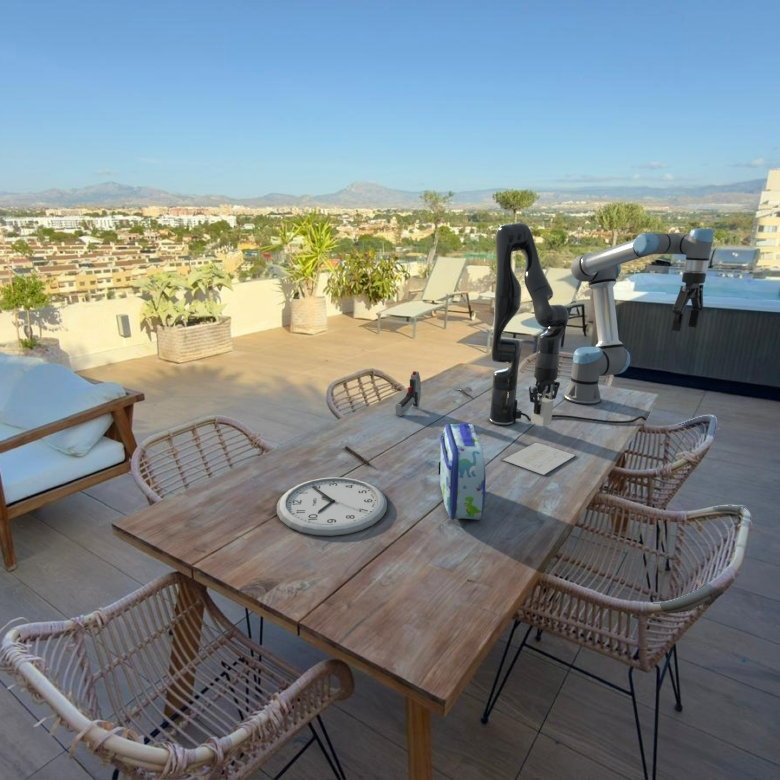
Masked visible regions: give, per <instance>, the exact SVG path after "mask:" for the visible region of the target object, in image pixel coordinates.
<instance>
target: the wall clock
mask: <svg viewBox="0 0 780 780" xmlns="http://www.w3.org/2000/svg"><path fill="white" fill-rule="evenodd" d="M387 509H388V500H387V498H386V496H385V494H384V493H383V492H382V491H381V490H380V489H379V488H377V487H376V486H374V485H372V484H371V483H369V482H365V481H362V480H359V479H355V478H349V477H338V476H337V477H335V476H333V477H332V476H331V477H322V478H317V479H312V480H307V481H305V482H302V483H299V484H297V485H295V486H293V487H292V488H290V489H288V490H287V491H286V492H285V493H284V494H283V495H281V496H280V498H279V499H278V502H277V503H276V515H277V517H278V518H279V520H280V521H281V522H282V523H283V524H285V525H286V526H287V527H288V528H290V529H293V530H295V531H297V532H299V533H303V534H308V535H312V536H327V537H328V536H329V537H331V536H332V537H333V536H342V535H350V534H352V533H356V532H361V531H363V530H366V529H368V528H369V527H372V526H373V525H375V524H376V523H378V522H379V521H380V520H381V519H382V518H383V517H384V516H385V514H386V512H387Z"/></svg>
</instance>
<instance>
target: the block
mask: <svg viewBox="0 0 780 780" xmlns="http://www.w3.org/2000/svg"><path fill="white" fill-rule="evenodd" d="M538 401H539V397H538ZM553 408H554V399H553V400H550V399H547V398H543V399H542V402H541V411H540V414H539V415H537V414H535V413H534V403H533V402H532V405H531V415H530V419H531V421H530V423H532V424H535V425H538V426H540V427H545V426H549V425H551V424H552V418H553V417H552V415H553V410H554V409H553Z"/></svg>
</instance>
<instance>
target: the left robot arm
mask: <svg viewBox="0 0 780 780" xmlns="http://www.w3.org/2000/svg"><path fill="white" fill-rule="evenodd" d="M513 252H521V253H522V256H523V257H524V260H525V269H524V278H523V279H524V280H523V281H524V285H525V287H526V290H527V292H528V294H529V296H530V298H531V300H532V306H533V307H532V308H533V312H534V318H535V320H536V322H537V324H538V325H539V326H541V327H542V328H547V329H546V331H545V332H543V333H541V334H540V335H539V337H538V343H537V352H536V356H535V365H534V374H533V377H534V378H535V383H534V385H533V386H529V387H528V392H529V393H528V395H529V402H530V403H532V404H533V403H534V413H535V414H537V415H539V414H540V411H541V402H542V399H543V398H547V399H550V400H553V401H554V400H555V399H556V398H557V395H558V393H559V392H558V391H559V388H560V385H561V382H559V381H557V380H558V373H559V365H560V351H561V343H562V342H561V340H562V338H563V336H564V334H565V331H566V328H567V326H568V323H569V311H568V309H567V307H566V306H565V305H563V304H550V302H549V301H550V300H551V299H552V298H553V297H554V291H553V289H552V286H551V285H550V283H549V280H548V278H547V276H546V274H545V272H544V270H543V267H542V264H541V260H540V256H539V253H538V249H537V245H536V242H535V239H534V236H533V232H532V231H531V228H530V226H529V225H528V224H527V223H525V222H516V223H509V224H502V225H500V226H498V228H497V230H496V233H495V271H496V272H495V273H496V274H495V288H494V311H493V312H494V316H493V331H492V339H491V348H490V350H491V351H490V356H491V360H492V362H494V363H500V364H509V366H507V367H505V368H501V369H497V370H495V371H494V372H493V374H492V388H491V399H490V410H489V411H490V413H489V414H490V415H489V422H490V423H491V424H494V425H497V426H511V425H513V424H516V423H517V420H521V419H522V416H523V417H525V418H526V419H527V420H528V421H529V422H531V417H530V416H529V415H528V414H527V413H524V412H522V410H521V409H519V408H518V399H517V388H518V377H519V376H518V375H519V366H520V359H521V353H522V343H521V341H520V340H519V339H515V338H504V337H502V335H503V332H504V330H505V329H506V327H507V325H508V324H509V323H510V322H511V321H512V319H513V318H514V317H515V316H516V314H517V313H518V311H519V309H520V307H521V302H522V301H521V300H522V286H521V283H520V281H519V279H518V277H517V275H516V274H515V272H514V270H513V266H512V253H513ZM538 397H539V401H538ZM552 418H567V419H575V420H583V421H590V422H591V421H592V422H597V423H607V424H630V423H634V422H636V421H638V420H640V419H643V420H644V421H647V418H646V417H645V416H643V415H639V416H637V417H635V418H633V419H629V420H607V419H598V418H592V417H591V418H590V417H583V416H575V415H567V414H566V415H565V414H552Z"/></svg>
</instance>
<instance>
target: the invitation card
mask: <svg viewBox="0 0 780 780" xmlns="http://www.w3.org/2000/svg"><path fill="white" fill-rule="evenodd" d="M576 456H577V455H576V454H573V453H570V452H567V451H565V450H561V449H558V448H555V447H552V446H549V445H546V444H543V443H539V442H534V443H532V444H529V445H528V446H526V447H524V448H522V449H520V450H518V451H516V452H514V453H512V454H510V455H509V456H507V457H505V458H503V459H502V461H503V462H506V463H509V464H511V465H514V466H518V467H520V468H523V469H525V470H528V471H531V472H534V473H536V474H539V475H541V476H545V475H547V474H548V473H550V472H552V471H554V469H556V468H558V467H559V466H561V465H563V464H564V463H566V462H568V461H570V460H571V459H572V458H574V457H576Z"/></svg>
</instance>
